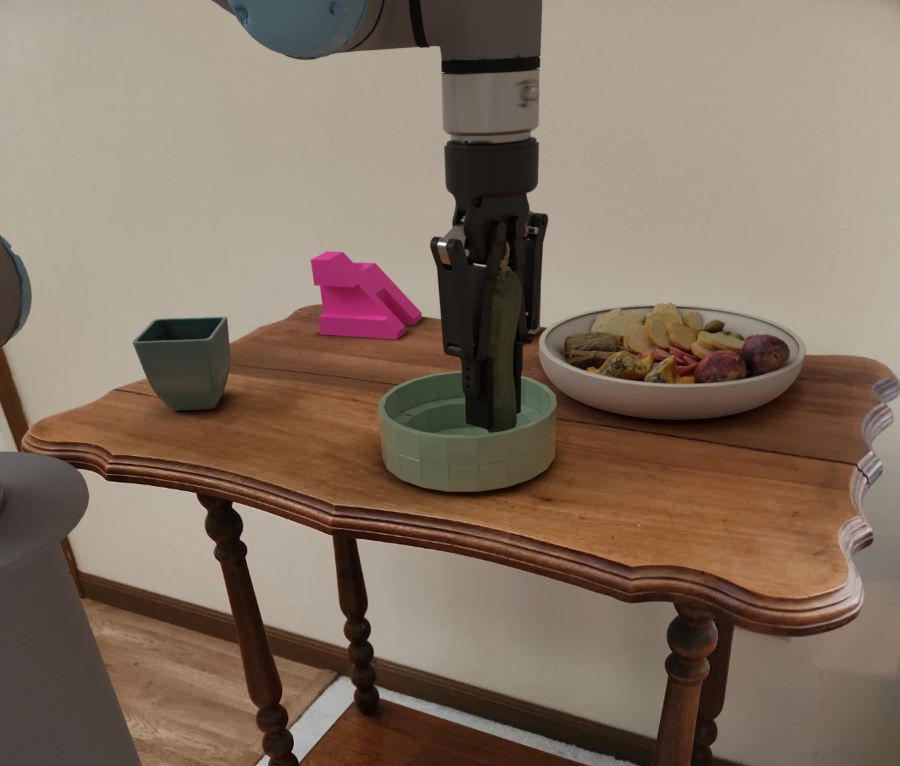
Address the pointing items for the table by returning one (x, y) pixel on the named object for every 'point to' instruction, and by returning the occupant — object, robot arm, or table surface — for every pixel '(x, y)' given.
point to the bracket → (360, 299)
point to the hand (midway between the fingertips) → (493, 417)
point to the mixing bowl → (463, 436)
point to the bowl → (671, 360)
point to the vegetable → (504, 344)
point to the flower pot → (186, 360)
